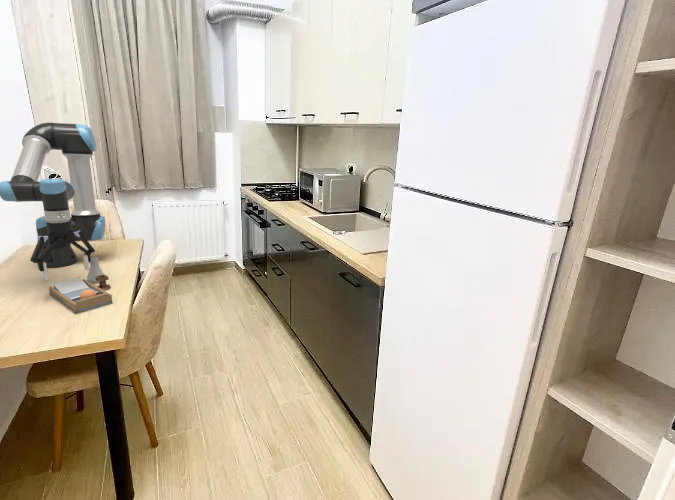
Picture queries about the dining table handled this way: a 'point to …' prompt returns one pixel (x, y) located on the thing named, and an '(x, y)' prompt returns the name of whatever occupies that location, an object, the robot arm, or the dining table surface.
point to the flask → (94, 271)
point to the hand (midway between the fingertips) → (67, 274)
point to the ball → (87, 294)
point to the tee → (103, 282)
